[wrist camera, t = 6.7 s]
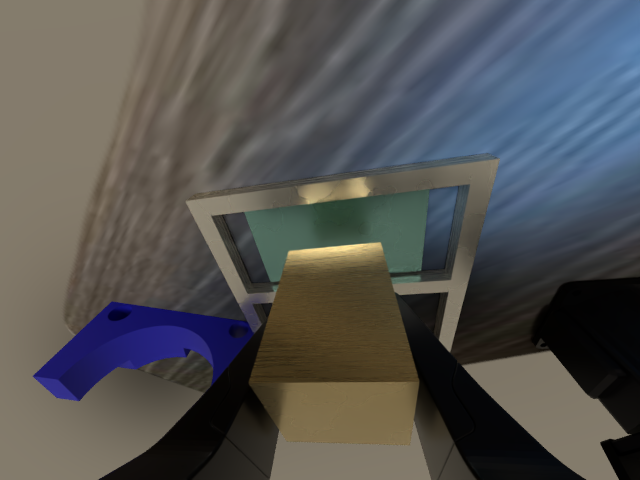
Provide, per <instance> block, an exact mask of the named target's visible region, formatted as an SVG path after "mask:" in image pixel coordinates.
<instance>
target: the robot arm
mask: <svg viewBox="0 0 640 480" xmlns="http://www.w3.org/2000/svg"><path fill="white" fill-rule="evenodd" d="M395 295H396V299H397V303H398V306H399V310H400V314H401V317H402V321H403V324H404V328H405V332H406V335H407V339H408V342H409V346H410V350H411V353H412V357H413V361H414V364H415V368H416V371H417V375H418V379H419V388H418V394H417V401H416V408H415V415H414V421H415V425H416V428H417V432H418V435H419V439H420V442H421V445H422V449H423V452H424V456H425V459H426V462H427V466H428V469H429V473H430V476H431V480H586V479H584V478H582V477H581V476H580V475H578V474H577V473H575V472H574V471H572V470H571V469H570V468H568V467H567V466H565V465H564V464H563V463H561V462H560V461H559V460H558V459H557V458H555V457H554V456H553V455H552V454H551V453H549V452H548V451H547V450H546V449H545V448H544V447H543V446H542V445H541V444H540V443H539V442H538V441H537V440H535V439H534V438H533V437H532V436H531V435H530V434H529V433H528V432H527V431H526V430H525V429H524V428H523V427H522V426H521V425H520V424H519V423H518V422H517V421H515V420H514V419H513V418H512V417H511V416H510V415H509V414H508V413H507V412H506V411H505V410H504V409H503V408H502V407H501V406H500V405H499V404H498V403H497V402H496V401H495V400H494V399H493V398H492V397H491V396H489V394H488V393H486V391H485V390H484V389H482V387H480V385H479V384H478V383H477V382H476V381H475V380H474V379H473V378H472V377H471V376H470V375H469V374H468V372H467V371H466V370H465V369H464V368H463V367H462V366H461V364H460V363H457V360H456V359H455V358H454V357H453V355H452V354H451V353H450V352H449V351H448V350H447V349H446V348H445V346H444V345H443V344H442V343H441V342H440V341H439V340H438V339H437V337H436V336H435V335H434V334H433V333H432V332H431V331H430V329H429V328H428V327H427V326H426V325H425V324H424V323H423V322H422V320H421V319H420V318H419V317H418V316H417V315H416V314H415V313H414V311H413V310H412V309H411V308H410V307H409V306H408V305H407V303H406V302H405V301H404V300H403V299H402V298H401V297H400V296H399V294H398V293H396V292H395ZM268 318H269V316H268V317H267V319H266V320H265V321H264V322H263V324H262V325H261V326H260V327H259V328H258V330H257V331H256V332H255V333H254V335H253V336H252V337H251V338H250V339H249V341H248V342H247V343H246V344H245V346H244V347H243V348H242V349H241V350H240V352H239V353H238V354H237V355H236V357H235V358H234V359H233V360H232V362H231V363H230V364H229V367H227V368H226V369H225V370H224V371H223V372H222V374H221V375H220V376H219V377H218V378H217V380H216V381H215V382H214V383H213V384H212V385H211V387H210V388H209V389H208V390H207V391H206V392H205V393H204V394H203V395H202V396H201V398H200V399H199V400H198V401H197V402H196V403H195V404H194V405H193V406H192V407H191V408H190V409H189V410H188V411H187V412H186V414H185V415H184V416H183V417H182V418H181V419H180V420H179V421H178V422H177V423H176V424H175V425H174V426H173V427H172V428H171V429H170V430H169V431H168V432H167V433H166V434H165V435H164V437H162V438H161V439H160V440H159V441H158V442H157V443H156V444H155V445H153V446H152V447H151V448H150V449H148V450H147V451H146V452H144V453H143V454H141V455H139V456H138V457H136V458H134V459H133V460H131V461H130V462H128V463H126V464H124V465H123V466H121V467H119V468H117V469H116V470H114V471H112V472H111V473H109V474H107V475H105V476H104V477H102V478H100V479H99V480H270V476H271V470H272V465H273V459H274V454H275V449H276V444H277V438H278V433H279V429H278V427H277V426H276V424H275V423H274V421H273V420H272V418H271V417H270V415H269V413H268V412H267V410H266V409H265V407H264V406H263V404H262V403H261V401H260V400H259V398H258V397H257V395H256V394H255V392H254V391H253V389H252V388H251V386H250V385H249V380H250V376H251V373H252V370H253V367H254V363H255V360H256V357H257V353H258V350H259V347H260V344H261V340H262V337H263V334H264V331H265V327H266V324H267V321H268ZM532 342H533V343H534V345H535V346H536V347H537V348H539V349H550V350H551V351H552V352H553V353H554V355H555V356H556V357H557V358H558V360H559V361H560V362H561V363H562V365H563V366H564V367H565V368H566V369H567V371H568V372H569V373H570V374H571V376H572V377H573V378H574V379H575V381H576V382H577V383H578V384H579V385H580V387H581V388H582V389H583V390H584V391H585V393H586V394H587V395H589V396H590V397H591V398H593V399H599V400H600V402H601V403H602V404H603V405H604V406H605V408H606V409H607V410H608V411H609V412H610V414H611V415H612V416H613V417H614V418H615V420H616V421H617V422H618V423H619V424H620V426H621V427H622V428H623V429H624V430H625V431H626V433H627V434H632V435H629V436H626V437H622V438H619V439H616V440H613V439H608V440H605V441H602V442H600V443H601V446H602V448H603V450H604V452H605V454H606V456H607V458H608V460H609V461H610V463H611V465H612V467H613V469H614V471H615V473H616V475H617V477H618V478H619V480H640V279H627V280H611V281H595V282H579V283H571V284H568V285H566V286H564V287H563V289H562V290H561V292H560V293H559V295H558V297H557V299H556V300H555V302H554V304H553V306H552V307H551V309H550V311H549V313H548V314H547V316H546V318H545V320H544V321H543V323H542V325H541V327H540V328H539V330H538V332H537V334H536V335H535V337H534V339H533V341H532Z"/></svg>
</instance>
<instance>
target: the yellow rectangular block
mask: <svg viewBox="0 0 640 480" xmlns="http://www.w3.org/2000/svg"><path fill="white" fill-rule="evenodd" d="M249 385H250V386H251V388H252V389H253V391H254V392H255V394H256V395H257V397H258V398H259V400H260V401H261V403H262V404H263V406H264V407H265V409H266V410H267V412H268V413H269V415H270V417H271V418H272V420H273V421H274V423H275V424H276V426H277V427H278V429H279V430H280V432H281V433H282V435H283V436H284V438H285V439H286V441H288V442H319V443H320V442H321V443H322V442H323V443H352V444H384V445H385V444H386V445H410V441H411V435H412V427H413V421H414V415H415V408H416V401H417V394H418V388H419V379H418V375H417V371H416V368H415V364H414V361H413V357H412V353H411V350H410V346H409V342H408V339H407V335H406V332H405V328H404V324H403V321H402V317H401V314H400V310H399V306H398V303H397V299H396V295H395V292H394V288H393V285H392V281H391V277H390V274H389V270H388V267H387V263H386V259H385V256H384V252H383V248H382V245H381V242H379V243H368V244H357V245H347V246H336V247H325V248H314V249H303V250H292V251H289V252H288V256H287V259H286V262H285V265H284V269H283V272H282V275H281V278H280V282H279V285H278V288H277V291H276V295H275V298H274V301H273V305H272V308H271V311H270V314H269V318H268V321H267V324H266V327H265V331H264V334H263V337H262V340H261V344H260V347H259V350H258V353H257V357H256V360H255V363H254V367H253V370H252V373H251V376H250V380H249Z"/></svg>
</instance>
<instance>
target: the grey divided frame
mask: <svg viewBox="0 0 640 480" xmlns="http://www.w3.org/2000/svg"><path fill="white" fill-rule="evenodd" d="M499 161H500V158H497V157H495V156H493V155H490V154H488V153H485V154H478V155H471V156H464V157H456V158H449V159H442V160H435V161H428V162H420V163H413V164H406V165H399V166H392V167H384V168H377V169H370V170H363V171H356V172H348V173H341V174H334V175H327V176H320V177H313V178H305V179H298V180H291V181H284V182H277V183H269V184H262V185H255V186H248V187H241V188H233V189H226V190H219V191H212V192H205V193H197V194H194V195H193V196H192V197H190V198H189V199H188V200H186V203H187V205H188V207H189V209H190V211H191V213H192V215H193V217H194V219H195V221H196V223H197V225H198V227H199V229H200V230H201V232H202V234H203V236H204V238H205V240H206V242H207V244H208V246H209V248H210V250H211V252H212V254H213V256H214V258H215V260H216V261H217V263H218V265H219V267H220V269H221V271H222V273H223V275H224V277H225V279H226V281H227V283H228V285H229V287H230V289H231V291H232V293H233V294H234V296H235V298H236V300H237V302H238V304H239V306H240V308H241V310H242V312H243V314H244V316H245V318H246V320H247V322H248V324H249V325H250V327H251V329H252V331H253V333H255V332H256V331H257V330H258V328H259V327H260V326H261V325H262V324H263V322H264V321H265V320H266V319H267V317H266V314H265V312H264V310H263V307H262V305H261V303H273V301H274V298H275V295H276V291H277V288H278V285H279V282H280V278H281V275H282V272H283V269H284V265H285V262H286V259H287V256H288V252H289V251H292V250H303V249H314V248H325V247H336V246H347V245H357V244H368V243H379V242H381V245H382V248H383V252H384V256H385V259H386V263H387V267H388V270H389V274H390V277H391V281H392V285H393V288H394V292H396V293H398V294H399V295H406V294H422V293H439V292H441V293H440V298H439V304H438V310H437V315H436V321H435V327H434V333H433V334H434V335H435V336H436V337H437V339H438V340H439V341H440V342H441V343H442V344H443V345H444V346H445V348H446V349H447V350H448V351H449V352H450V351H451V347H452V343H453V339H454V335H455V331H456V327H457V324H458V320H459V316H460V312H461V308H462V304H463V300H464V296H465V293H466V289H467V285H468V281H469V277H470V273H471V269H472V265H473V262H474V258H475V254H476V250H477V246H478V242H479V238H480V234H481V230H482V227H483V223H484V219H485V215H486V211H487V207H488V203H489V199H490V196H491V192H492V188H493V184H494V180H495V176H496V172H497V168H498V165H499ZM451 186H459V190H458V195H457V201H456V207H455V212H454V218H453V224H452V230H451V235H450V241H449V247H448V253H447V258H446V264H445V269H440V270H427V271H421V267H422V257H423V247H424V238H425V228H426V218H427V208H428V199H429V189H434V188H442V187H451ZM238 212H244V213H245V215H246V218H247V221H248V223H249V226H250V229H251V231H252V234H253V237H254V239H255V242H256V245H257V247H258V250H259V253H260V255H261V258H262V261H263V263H264V266H265V269H266V271H267V274H268V277H269V279H270V282H266V283H253V284H252V282H251V280H250V278H249V276H248V273H247V271H246V269H245V266H244V264H243V262H242V260H241V257H240V255H239V253H238V250H237V248H236V246H235V244H234V241H233V239H232V237H231V234H230V232H229V230H228V228H227V225H226V223H225V221H224V218H223V216H222V214H230V213H238ZM411 271H413V272H411ZM397 272H400V273H397ZM277 281H279V282H277Z"/></svg>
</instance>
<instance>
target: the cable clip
mask: <svg viewBox="0 0 640 480" xmlns="http://www.w3.org/2000/svg"><path fill="white" fill-rule="evenodd" d="M253 335H254V333H253V331H252V329H251V327H250V325H249V324H248V322H246V321H239V320H232V319H225V318H219V317H212V316H205V315H198V314H192V313H185V312H178V311H172V310H165V309H158V308H151V307H145V306H138V305H131V304H124V303H118V302H111V303H110V304H109V305H108V306H107V307H106V308H104V309H103V310H102V311H101V312H100V313H99V314H98V315H97V316H96V317H95V318H94V319H93V320H92V321H91V322H90V323H89V324H87V325H86V326H85V327H84V328H83V329H82V330H81V331H80V332H79V333H78V334H77V335H76V336H75V337H74V338H73V339H72V340H71V341H69V342H68V343H67V344H66V345H65V346H64V347H63V348H62V349H61V350H60V351H59V352H58V353H57V354H56V355H55V356H54V357H53V358H51V359H50V360H49V361H48V362H47V363H46V364H45V365H44V366H43V367H42V368H41V369H40V370H39V371H38V372H37V373H35V375H34V376H33V377H34V378H35V379H36V380H37V381H38V382H40V383H41V384H42V385H43V386H44V387H45V388H46V389H47V390H49V391H50V392H51V393H52V394H53V395H54V396H55V397H57V398H61V399H69V400H76V401H80V400H81V399H82V398H83V396H84V395H85V394H86V393H87V392H88V391H89V390H90V389H91V388H92V387H93V386H94V385H95V384H96V383H97V382H98V381H100V380H101V379H102V378H103V377H104V376H106V375H107V374H108V373H110V372H111V371H112V370H114V369H115V368H117V367H122V368H129V369H137V368H139V367H141V366H143V365H146V364H148V363H151V362H154V361H157V360H160V359H164V358H170V357H187V355H188V354H189V352H190V350H193V351H196V352H198V353H199V354H201V355H202V356H204V357H205V358H206V359H207V360H208V361H209V362H210V364H211V365H212V367H213V379H212V384H213V383H214V382H215V381H216V380H217V378H218V377H219V376H220V375H221V374H222V372H223V371H224V370H225V369H226V368H227V367H229V364H230V363H231V362H232V360H233V359H234V358H235V357H236V355H237V354H238V353H239V352H240V350H241V349H242V348H243V347H244V346H245V344H246V343H247V342H248V341H249V339H250V338H251V337H252V336H253ZM212 384H211V385H212Z"/></svg>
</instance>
